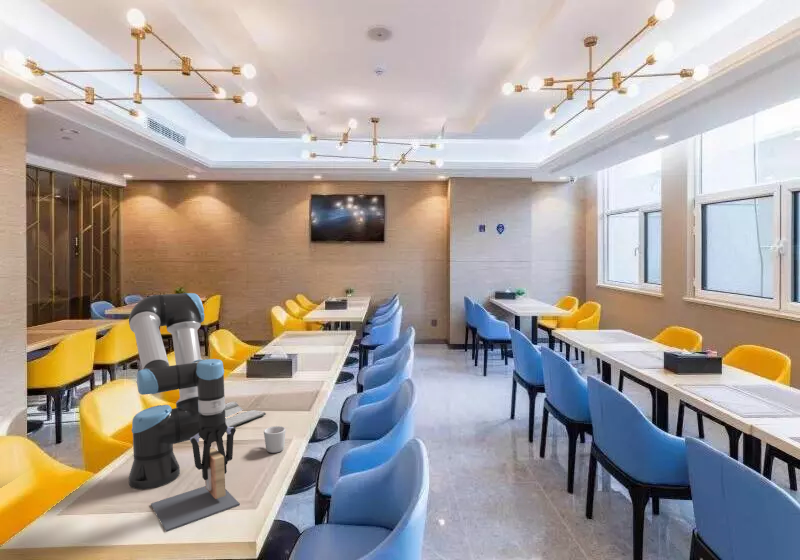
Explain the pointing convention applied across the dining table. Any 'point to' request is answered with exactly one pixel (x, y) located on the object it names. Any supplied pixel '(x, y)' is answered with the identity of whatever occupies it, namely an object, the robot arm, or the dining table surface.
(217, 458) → the tan block
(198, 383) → the robot arm
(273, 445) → the cup
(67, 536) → the dining table surface
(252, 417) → the mat
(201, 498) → the slate mat
